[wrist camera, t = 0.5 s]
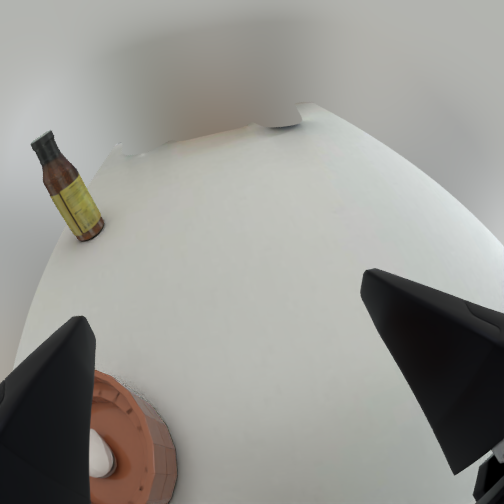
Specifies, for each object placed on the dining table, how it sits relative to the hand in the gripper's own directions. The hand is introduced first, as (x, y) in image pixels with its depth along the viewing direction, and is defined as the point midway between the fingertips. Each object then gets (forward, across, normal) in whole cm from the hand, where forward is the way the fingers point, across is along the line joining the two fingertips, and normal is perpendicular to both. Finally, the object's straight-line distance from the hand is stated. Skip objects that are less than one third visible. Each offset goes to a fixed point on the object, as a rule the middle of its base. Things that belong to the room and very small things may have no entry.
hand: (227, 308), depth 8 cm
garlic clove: (+3, +14, +18) cm, 23 cm away
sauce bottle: (+39, +21, +10) cm, 45 cm away
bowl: (+3, +14, +18) cm, 23 cm away
